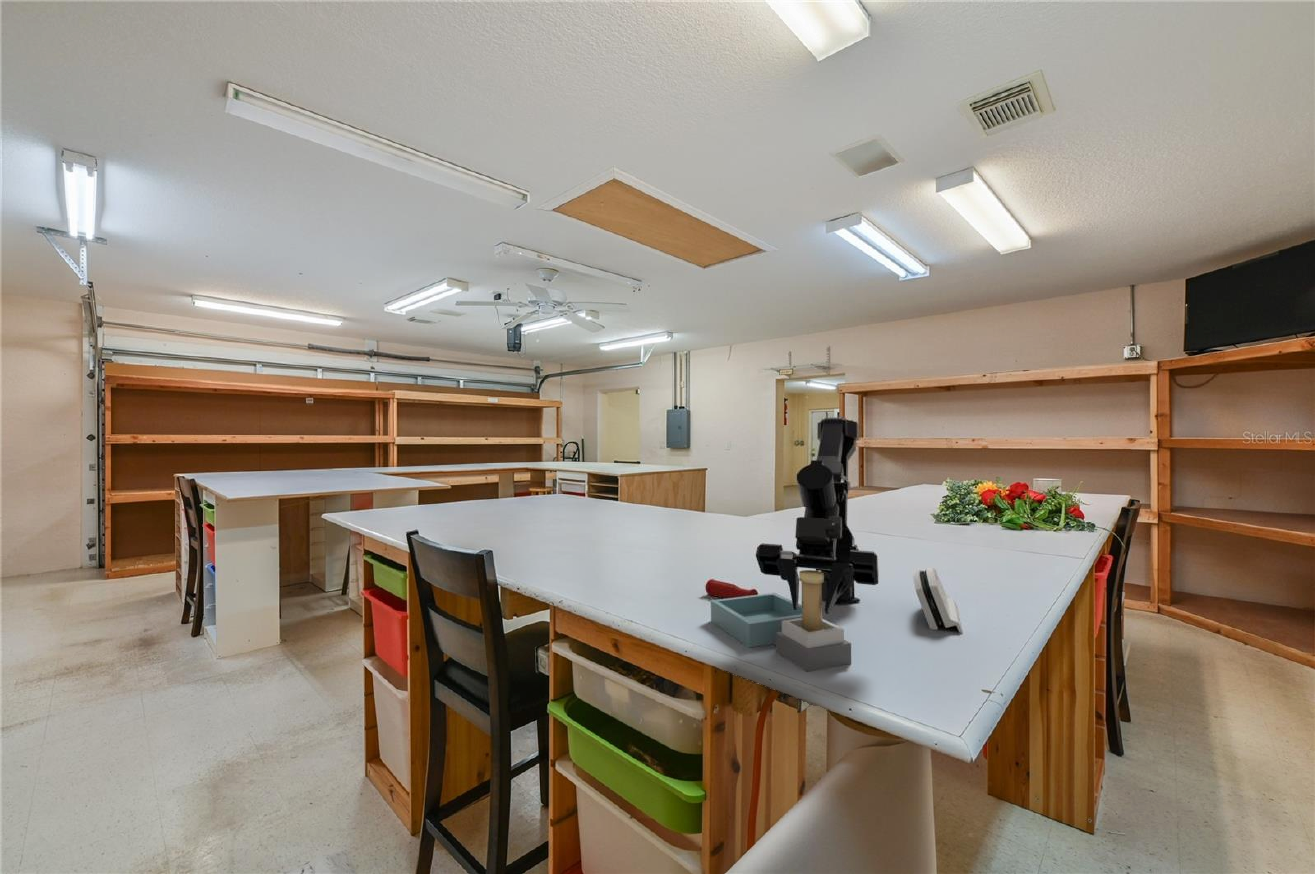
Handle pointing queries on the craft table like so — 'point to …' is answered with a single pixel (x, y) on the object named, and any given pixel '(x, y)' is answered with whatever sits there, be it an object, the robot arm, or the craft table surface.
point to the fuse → (811, 599)
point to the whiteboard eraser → (935, 600)
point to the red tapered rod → (727, 590)
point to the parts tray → (754, 617)
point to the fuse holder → (813, 645)
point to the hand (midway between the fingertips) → (810, 610)
